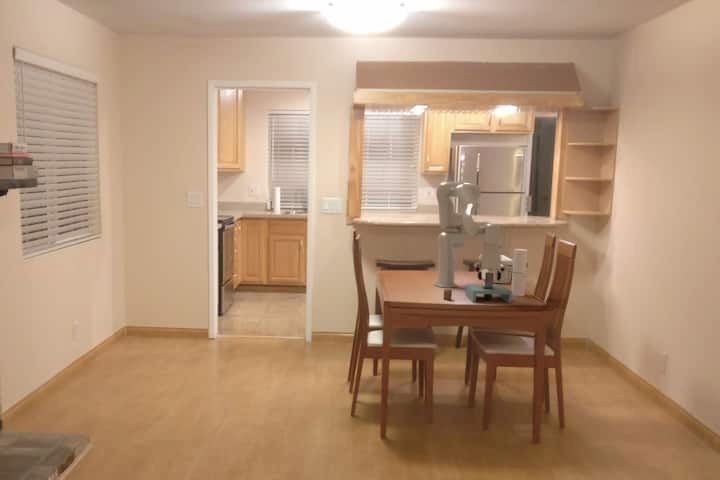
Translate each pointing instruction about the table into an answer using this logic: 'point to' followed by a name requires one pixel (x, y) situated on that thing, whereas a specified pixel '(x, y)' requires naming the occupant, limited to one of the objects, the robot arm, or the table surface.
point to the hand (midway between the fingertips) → (489, 279)
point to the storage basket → (505, 274)
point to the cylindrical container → (519, 272)
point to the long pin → (488, 284)
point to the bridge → (488, 292)
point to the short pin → (447, 294)
